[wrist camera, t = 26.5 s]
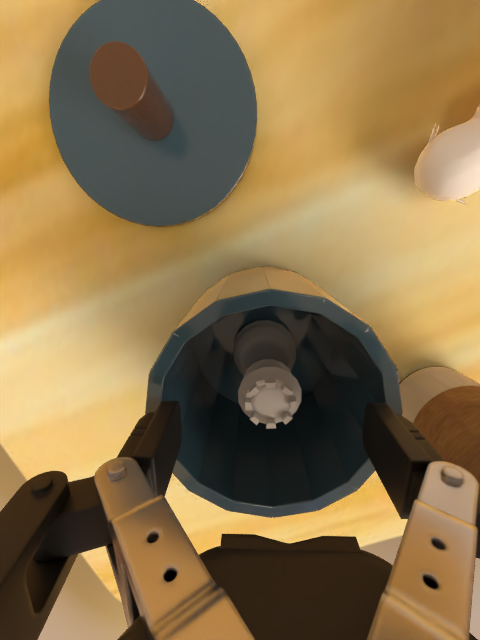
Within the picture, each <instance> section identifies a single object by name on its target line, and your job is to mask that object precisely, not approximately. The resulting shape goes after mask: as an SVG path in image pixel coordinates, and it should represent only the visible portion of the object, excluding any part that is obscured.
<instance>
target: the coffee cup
mask: <svg viewBox="0 0 480 640" xmlns="http://www.w3.org/2000/svg"><path fill="white" fill-rule="evenodd" d="M400 394H401V403H402V412H403V414H402V416H403V417H405V418H406V419H408V420H409V421H411V422H412V423H413V424H414V425H415V426H416V427H417V429H418V430H419V432H420V433H422V435H423V436H424V437H425V439H426V440H428V442H429V443H430V444H431V445H432V446H433V447H434V449H435V450H436V451H437V452H438V453H439V455H440V456H441V457H442V458H443V459H444V460H445V462H449V463H452V464H455V465H458V466H460V467H462V468H464V469H465V470H467V471H468V472H470V473H471V474H472V475H473V476H474V477H475V478H476V480H477V481H478V484H480V384H479V383H477V382H476V381H474V380H472V379H470V378H468V377H466V376H464V375H463V374H461V373H459V372H457V371H455V370H452V369H449V368H446V367H428V368H424V369H421V370H418V371H416V372H414V373H412V374H411V375H409V376H408V377H407V378H405V379H404V380H403V381H402V382H401V384H400Z"/></svg>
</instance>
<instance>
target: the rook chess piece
mask: <svg viewBox="0 0 480 640" xmlns="http://www.w3.org/2000/svg"><path fill="white" fill-rule="evenodd" d="M233 348H234V362H235V364H236V366H237V368H238V370H239V372H240V373H241V374H242V375H243V376H244V377H243V380H242V382H241V385H240V387H239V390H238V402H239V404H240V406H241V408H242V410H243V412H244V413H245V414H246V415H248V416H249V417H250V420H251V421H252V422H253V423H255V424H256V425H257V424H258V423H259V422H261V423H264V424H266V429H269V428H276V423H279V422H281V421H283V422H284V424H285V425H286V424H287V423H288V422H289V421H290V420H292V419H293V418H292V415H293V414H294V413H295V412H296V411H297V409H298V407H299V405H300V403H301V388H300V385H299V383H298V381H297V379H296V378H295V377H294V376H293V375H292V374H291V369H292V367H293V365H294V363H295V360H296V347H295V342H294V340H293V337H292V335H291V333H290V332H289V331H288V330H287V329H286V328H285V327H284V326H283V325H281V324H279V323H276V322H273V321H270V320H264V321H256V322H253V323H251V324H249V325H246V326H245V327H244V328H243V329H242V330H241V331H240V332H239V333H238V334H237V337H236V340H235V342H234V345H233Z"/></svg>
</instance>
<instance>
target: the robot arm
mask: <svg viewBox="0 0 480 640" xmlns="http://www.w3.org/2000/svg"><path fill="white" fill-rule="evenodd" d="M362 438H363V445H364V449H365V451H366V453H367V455H368V457H369V459H370V460H371V462H372V464H373V466H374V468H375V470H376V472H377V474H378V476H379V478H380V479H381V481H382V483H383V485H384V487H385V489H386V491H387V493H388V495H389V497H390V498H391V500H392V502H393V504H394V506H395V508H396V510H397V512H398V514H399V516H400V517H401V519H408V521H407V524H406V527H405V530H404V534H403V537H402V540H401V543H400V546H399V549H398V552H397V555H396V558H395V561H394V564H393V565H391V564H390V563H388V562H387V561H385V560H384V559H382V558H380V557H378V556H376V555H374V554H371V553H369V552H366V551H363V550H360V548H359V545H358V542H357V539H356V537H344V536H321V537H316V538H312V539H308V540H304V541H300V542H296V543H291V544H288V543H284V542H280V541H276V540H273V539H269V538H265V537H262V536H258V535H251V534H222V538H221V546H218V547H215V548H212V549H209V550H207V551H205V552H203V553H201V554H199V555H198V553H197V552H196V550H195V548H194V547H193V545H192V543H191V541H190V540H189V538H188V536H187V535H186V533H185V531H184V529H183V528H182V526H181V524H180V523H179V521H178V519H177V518H176V516H175V514H174V512H173V511H172V509H171V507H170V506H169V504H168V502H167V500H166V499H165V497H164V496H165V493H166V490H167V487H168V484H169V481H170V478H171V475H172V472H173V469H174V466H175V463H176V460H177V456H178V453H179V450H180V447H181V442H182V426H181V412H180V403H179V401H161V402H160V404H159V406H158V408H157V410H156V412H148V413H147V414H146V415H144V416H143V417H142V418H141V419H139V421H138V423H137V424H136V426H135V429H133V431H132V433H131V436H129V438H128V440H127V441H126V443H125V445H124V446H123V448H122V450H121V451H120V453H119V455H118V456H117V458H115V459H112V460H110V461H108V462H106V463H104V464H103V465H102V466H101V467H99V469H98V470H97V471H96V473H95V476H93V477H90V478H86V479H81V480H77V481H72V482H68V479H67V476H66V474H65V473H63V472H60V471H50V472H45V473H42V474H39V475H37V476H35V477H33V478H31V479H30V480H28V481H27V482H26V483H25V484H23V485H22V487H20V489H19V490H18V491H17V492H16V493H15V495H14V496H13V497H12V498H11V499H10V501H9V502H8V503H7V505H5V507H4V508H3V509H2V510H1V512H0V640H37V639H38V637H39V635H40V633H41V631H42V629H43V627H44V625H45V623H46V620H47V618H48V616H49V614H50V612H51V610H52V608H53V605H54V604H55V601H56V599H57V597H58V595H59V593H60V591H61V589H62V587H63V585H64V583H65V580H66V578H67V576H68V574H69V572H70V570H71V568H72V565H73V564H74V562H75V559H76V557H77V555H78V553H82V552H85V551H88V550H92V549H95V548H99V547H102V546H106V550H107V553H108V556H109V559H110V563H111V566H112V569H113V573H114V576H115V579H116V582H117V586H118V589H119V592H120V596H121V600H122V604H123V608H124V613H125V617H126V621H127V625H128V629H127V630H126V631H125V632H124V633H123V634H122V635H121V636H120V638H119V639H118V640H477V639H476V638H475V637H474V636H473V635H472V634H470V632H469V629H470V617H471V605H472V593H473V582H474V570H475V558H480V484H478V481H477V480H476V478H475V477H474V476H473V475H472V474H471V473H470V472H468V471H467V470H465V469H464V468H462V467H460V466H458V465H455V464H452V463H449V462H445V460H444V459H443V458H442V457H441V456H440V455H439V453H438V452H437V451H436V450H435V449H434V447H433V446H432V445H431V444H430V443H429V442H428V440H426V439H425V437H424V436H423V435H422V433H420V432H419V430H418V429H417V427H416V426H415V425H414V424H413V423H412V422H411V421H409V420H408V419H406V418H405V417H403V416H402V415H396V414H395V413H394V411H393V410H392V409H391V407H390V406H389V405H388V404H387V403H367V404H366V408H365V417H364V426H363V435H362Z"/></svg>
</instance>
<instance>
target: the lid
mask: <svg viewBox="0 0 480 640" xmlns="http://www.w3.org/2000/svg"><path fill="white" fill-rule="evenodd" d="M49 107H50V118H51V124H52V129H53V133H54V137H55V140H56V144H57V146H58V149H59V151H60V154H61V156H62V159H63V161H64V162H65V164H66V166H67V168H68V170H69V171H70V173H71V174H72V176H73V177H74V179H75V180H76V182H77V183H78V184H79V185H80V187H81V188H82V189H83V190H84V191H85V192H86V193H87V194H88V195H89V196H90V197H91V198H92V199H93V200H94V201H95V202H96V203H98V204H99V205H100V206H102V207H103V208H105V209H106V210H107V211H109V212H111V213H113V214H114V215H116V216H118V217H120V218H123V219H125V220H128V221H131V222H133V223H138V224H142V225H148V226H159V227H160V226H174V225H180V224H184V223H187V222H190V221H193V220H196V219H198V218H200V217H202V216H204V215H206V214H207V213H209V212H210V211H212V210H213V209H215V208H216V207H217V206H218V205H219V204H221V203H222V202H223V201H224V200H225V199H226V198H227V197H228V196H229V194H230V193H231V192H232V191H233V190H234V189H235V187H236V185H237V184H238V182H239V181H240V179H241V178H242V176H243V174H244V172H245V170H246V168H247V166H248V163H249V160H250V157H251V154H252V151H253V147H254V142H255V137H256V127H257V102H256V94H255V87H254V84H253V80H252V76H251V72H250V69H249V67H248V64H247V62H246V59H245V57H244V55H243V53H242V51H241V49H240V47H239V45H238V43H237V42H236V40H235V39H234V37H233V36H232V35H231V33H230V32H229V30H228V29H227V28H226V27H225V26H224V25H223V23H222V22H221V21H220V20H219V19H218V18H217V17H216V16H215V15H214V14H212V13H211V12H210V11H209V10H208V9H206V8H205V7H204V6H202V5H201V4H199V3H197V2H196V1H194V0H100V1H98V2H97V3H95V4H94V5H92V6H91V7H90V8H89V9H88V10H86V11H85V12H84V13H83V14H82V15H81V16H80V17H79V18H78V20H77V21H76V22H75V23H74V24H73V25H72V27H71V28H70V30H69V31H68V33H67V35H66V36H65V38H64V39H63V42H62V44H61V46H60V48H59V51H58V53H57V55H56V59H55V62H54V65H53V69H52V75H51V80H50V91H49Z"/></svg>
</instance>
